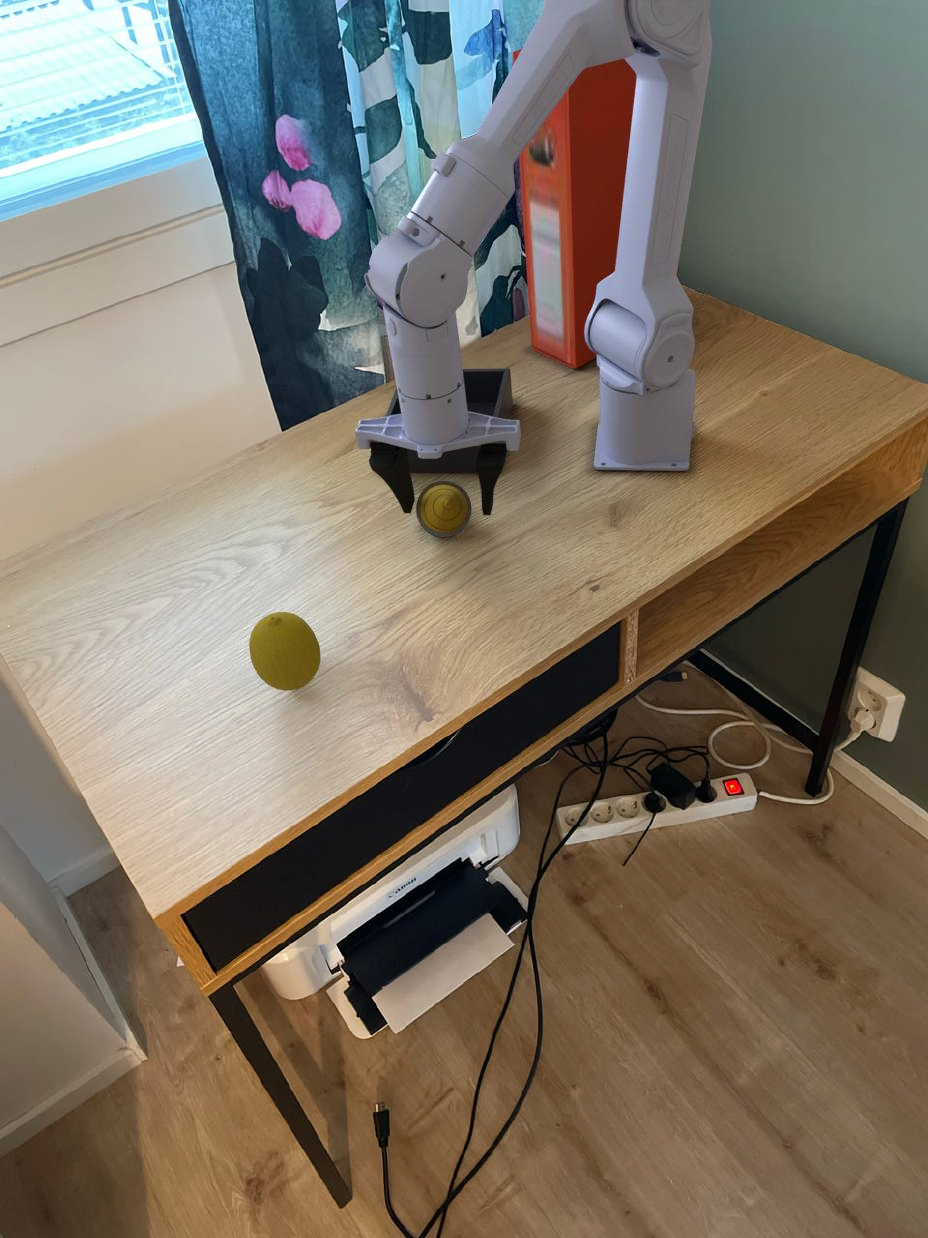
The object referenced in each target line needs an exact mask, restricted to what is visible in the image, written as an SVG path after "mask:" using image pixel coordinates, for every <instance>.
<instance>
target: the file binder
mask: <svg viewBox="0 0 928 1238" xmlns="http://www.w3.org/2000/svg"><path fill="white" fill-rule="evenodd" d="M521 50H522V48H520V49H518V50H515V51H512V66H513V65H514V63H515V61H516V59H517V58H518V56H519V54H520V52H521ZM636 80H637V75H636V73H635V71H634V70H633V69H632V67H631V66H630V65H629V64H628V63H627V61H626V60H625V59H620V60H616V61H612V62H608V63H604V64H600V65H596V66H592V67H588V68H585V69H584V70H582V71H581V72H580V74H579V75H578V77H577V78H576V79H575V81H574V82H573V83H572V85H571V86H570V88H569V89H568V90H567V92H566V93H565V94H564V96H563V97H562V98H561V100H560V101H559V103H558V104H557V105H556V107H555V108H554V109H553V111H552V112H551V114H550V115H549V116H548V118H547V119H546V120H545V122H544V123H543V124H542V126H541V127H540V129H539V130H538V131H537V133H536V134H535V135H534V137H533V138H532V140H531V141H530V142H529V144H528V145H527V146H526V148H525V149H524V150H523V152H522V153H521V155H520V156H519V157H518V159H519V172H520V189H521V203H522V220H523V221H522V222H523V234H524V235H523V236H524V249H525V264H526V280H527V294H528V295H527V297H528V311H529V326H530V343H531V348H532V350H533V351H535V352H536V353H538V354H541V355H543V356H545V357H547V358H549V359H551V360H553V361H556V362H558V363H560V364H562V365H564V366H566V367H568V368H570V369H572V370H574V369H575V370H576V369H578V368H580V367H582V366H584V365H586V364H588V363H589V362H591V361H592V360H594V359H597V353H595V352H593V351H592V350H591V349H590V348H589V347H588V345H587V343H586V341H585V334H584V331H585V324H586V320H587V318H588V315H589V313H590V311H591V309H592V307H593V304H594V301H595V297H596V290H597V285H598V283H599V282H600V281H602V280H603V279H605V278H606V277H608V276H609V275H611V274H612V273H614V272H615V267H616V258H617V249H618V240H619V231H620V222H621V214H622V205H623V196H624V187H625V178H626V169H627V160H628V151H629V143H630V134H631V125H632V116H633V107H634V98H635V89H636ZM679 268H680V261H679V262H678V269H677V278H678V279H679V271H680V269H679Z"/></svg>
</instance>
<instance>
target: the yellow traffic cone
mask: <svg viewBox="0 0 928 1238" xmlns="http://www.w3.org/2000/svg"><path fill="white" fill-rule="evenodd" d="M472 509H473V507H472V501H471V499H470V496H469V495H468V492H467V491H466V490H465V489H464V488H463V487H462V486H461V485H459V484H458V483H455V482H453V481H449V480H439V481H435V482H432V483H429V485H427V486H425V488H424V489H422V491H421V492H420V493H419V495H418V498H417V500H416V505H415V514H416V518H417V521H418V523H419V525H420V526H421V528H422V529H423V530H424V531H425V532H427V533H428V534H430V535H432V536H434V537H438V538H449V537H450V538H451V537H453V536H456V535H458V534H459V533H461V531H463V530H464V529H465V528H466V526H467V525H468V524H469V522H470V520H471V517H472V512H473V511H472Z"/></svg>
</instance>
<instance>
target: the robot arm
mask: <svg viewBox="0 0 928 1238" xmlns="http://www.w3.org/2000/svg"><path fill="white" fill-rule="evenodd" d="M711 3H712V0H544V3H543V7H542V10H541V13H540V15H539V17H538V18H537V20H536V22H535V24H534V25H533V28H532V30H531V32H530V33H529V35H528V37H527V39H526V40H525V42H524V44H523V46H522V48H521V49H522V50H521V52H520V54H519V56H518V58H517V59H516V61H515V63H514V65H513V64H512V66H511V69H510V71H509V72H508V74H507V75H506V78H505V80H504V82H503V84H502V86H501V88H499V91H498V93H497V95H496V96H495V98H494V100H493V102H492V103H491V106H490V108H489V110H488V111H487V113H486V115H485V117H484V118H483V121H482V123H481V125H480V127H479V128H478V130H477V132H476V133H475V134H473V135H471V136H468V137H465V138H461V139H457V140H455V141H453V142H451V144H450V145H449V146H448V149H447V150H446V152H443V151H440V152H438V154H437V155H436V157H435V159H434V160H433V162H432V164H431V165H430V166H431V169H432V170H434V171H433V173H432V175H431V177H430V178H429V179H428V182H427V183H426V184H425V186H424V187H423V189H422V191H421V192H420V195H419V196H418V198H417V199H416V200H415V202H414V203H413V206H412V207H411V209H410V211H409V212H408V214H407V216H405V215H403V216H402V218H401V220H400V221H399V223H398V225H397V229H398V230H394V231H392V232H390V234H389V235H384V237H382V239H381V240H380V241H379V242H378V243H377V245H376V246H375V247H374V249H373V250H372V253H371V256H370V258H369V263H368V265H369V269H368V270H367V271H368V272H366V273H364V275H363V279H364V282H365V285H366V287H367V289H368V290H369V292H370V293H371V294H372V295H373V296H374V297H375V298H376V299H378V300H379V301H380V302H381V303H382V310H383V315H384V316H383V317H384V322H385V327H386V332H387V340H388V347H389V352H390V357H391V364H392V370H393V375H394V380H395V386H396V387H397V391H398V397H399V403H400V408H401V414H397V415H392V416H386V415H385V416H386V417H385V416H381V417H376V418H375V417H374V418H360V419H359V421H358V423H357V425H356V428H355V430H354V434H355V439H356V442H357V447H358V450H370V455H369V459H368V464H369V467H370V469H371V471H373V472H374V473H375V474H377V475H378V476H379V478H381V479H382V480H383V481H384V483H385V484H386V485H387V486H388V487H389V489H390V490H391V492H392V493H393V495H394V496H395V498H396V500H397V502H398V503H399V506H400V508H401V510H402V511H403V513H404V514H412V511H413V507H414V504H415V501H416V497H415V496H416V495H415V489H414V485H413V480H412V475H411V473H410V470H409V463H408V452H407V449H411V450H415V451H417V452H418V457H419V458H422V459H437V458H440V457H441V456H442V453H443V452H446V451H451V450H456V449H461V448H466V447H471V446H480V450H479V452H478V456H477V460H476V464H475V466H476V471H477V473H476V475H477V478H478V481H479V487H480V495H481V497H480V498H481V511H482V515H483V516H491V515H492V512H493V506H494V497H495V496H494V494H495V487H496V484H497V482H498V480H499V478H500V476H501V474H502V471H503V469H504V467H505V464H506V460H507V456H508V451H509V452H518V451H519V450H520V446H521V445H520V444H521V440H522V433H521V431H522V430H521V420H520V419H510V418H509V419H501V418H496V417H492V416H487V415H483V414H479V413H474V412H470V411H467V402H466V394H465V385H464V377H463V369H464V368H463V362H462V353H461V351H462V350H461V345H460V334H459V326H458V320H457V311H458V309H459V308H461V307H462V306H463V304H464V303H465V300H466V298H467V293H468V286H469V279H468V278H469V272H470V270H471V269H472V267H473V264H472V262H473V261H474V258H473V257H474V256H475V254H476V253H477V251H478V250H479V248H480V247H481V245H482V243H483V242H484V240H485V239H486V237H487V235H488V234H489V232H490V231H491V229H492V228H493V226H494V224H495V223H496V222H497V220H498V218H499V217H500V216H501V213H502V212H503V211H504V209H505V208H506V206H507V204H508V203H509V202H510V200H511V198H512V197H513V195H514V194H515V191H516V182H515V181H516V180H515V172H514V168H515V163H516V161H517V160H518V159H519V156H520V155H521V153H522V152H523V150H524V149H525V148H526V146H527V145H528V144H529V142H530V141H531V140H532V138H533V137H534V135H535V134H536V133H537V131H538V130H539V129H540V127H541V126H542V124H543V123H544V122H545V120H546V119H547V118H548V116H549V115H550V114H551V112H552V111H553V109H554V108H555V107H556V105H557V104H558V103H559V101H560V100H561V98H562V97H563V96H564V94H565V93H566V92H567V90H568V89H569V88H570V86H571V85H572V83H573V82H574V81H575V79H576V78H577V77H578V75H579V74H580V72H581V71H582V70H584V69H585V68H588V67H592V66H596V65H600V64H604V63H608V62H612V61H616V60H620V59H625V60H626V61H627V63H628V64H629V65H630V66H631V67H632V69H633V70H634V71H635V73H636V75H637V80H636V89H635V98H634V107H633V116H632V125H631V134H630V143H629V151H628V160H627V169H626V178H625V187H624V196H623V205H622V214H621V222H620V231H619V240H618V249H617V258H616V267H615V272H614V273H612V274H611V275H609V276H608V277H606V278H605V279H603V280H602V281H600V282H599V283H598V285H597V290H596V297H595V301H594V304H593V307H592V309H591V311H590V313H589V315H588V318H587V320H586V324H585V331H584V334H585V341H586V343H587V345H588V347H589V348H590V349H591V350H592V351H593V352H595V353H597V357H596V366H597V367H598V368H599V423H598V424H597V431H596V439H595V450H594V459H593V469H594V470H596V471H653V472H654V471H662V472H663V471H664V472H666V471H669V472H687V471H688V470H690V458H691V447H692V440H694V439H695V421H694V413H695V400H696V370H695V369H691V368H688V367H689V366H690V364H691V362H692V360H693V357H694V354H695V348H696V339H695V335H694V331H693V317H694V311H695V307H694V306H693V304H692V302H691V300H690V299H689V296H688V295H687V293H686V291H685V290H684V287H683V285H682V283H681V282H680V280H679V277H678V278H677V269H678V262H679V263H680V255H681V250H682V243H683V236H684V231H685V226H686V225H685V224H686V219H687V211H688V205H689V199H690V193H691V186H692V180H693V175H694V169H695V168H694V167H695V161H696V155H697V149H698V143H699V137H700V130H701V124H702V118H703V111H704V105H705V98H706V92H707V87H708V80H709V73H710V68H711V61H712V54H713V37H712V29H711V21H710V10H711Z"/></svg>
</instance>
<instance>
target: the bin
mask: <svg viewBox="0 0 928 1238" xmlns="http://www.w3.org/2000/svg"><path fill="white" fill-rule="evenodd" d="M511 374H512V373H511V368H510V367H509V368H508V367H507V368H506V367H505V368H463V377H464V385H465V394H466V402H467V411H470V412H474V413H479V414H483V415H487V416H492V417H496V418H501V419H509V420H510V418H511V414H512V409H513V404H514V401H513V389H512V387H513V386H512V375H511ZM397 414H401V408H400V403H399V397H398V391H397V386H396V387H395V390H394V392H393V395H392V397H391V400H390V403H389V406H388V408H387V410H386V413H385V415H384V417H386V416H392V415H397ZM479 450H480V446H471V447H466V448H461V449H456V450H451V451H446V452H443V453H442V456H441V457H440V458H437V459H422V458H419V457H418V452H417V451H415V450H411V449H407V452H408V463H409V470H410V474H417V473H418V474H477V471H476V466H475V464H476V460H477V456H478V452H479Z"/></svg>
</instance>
